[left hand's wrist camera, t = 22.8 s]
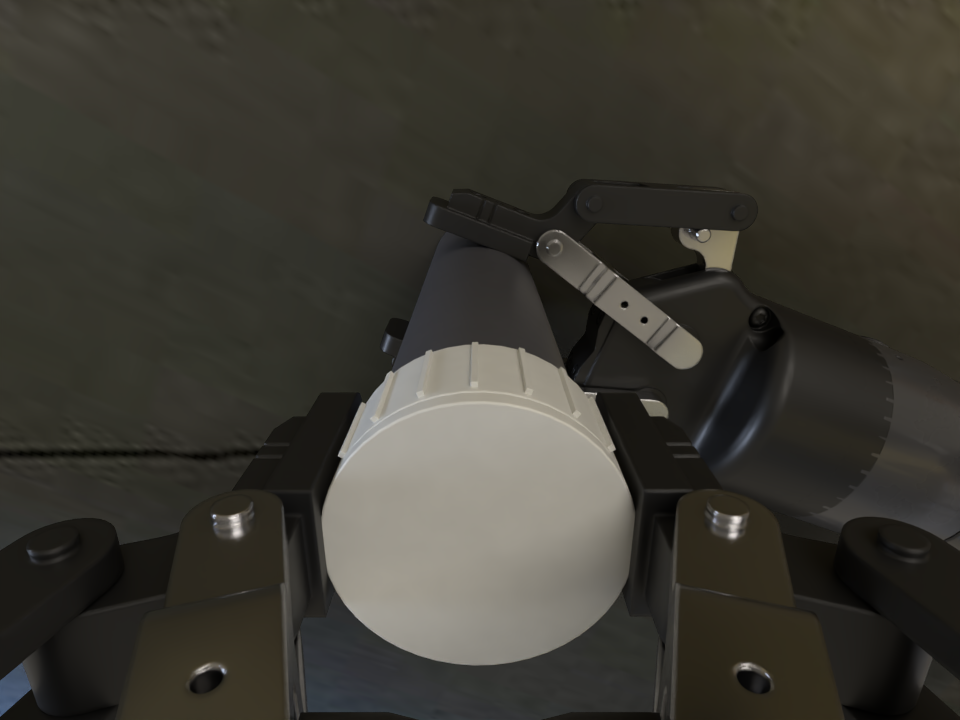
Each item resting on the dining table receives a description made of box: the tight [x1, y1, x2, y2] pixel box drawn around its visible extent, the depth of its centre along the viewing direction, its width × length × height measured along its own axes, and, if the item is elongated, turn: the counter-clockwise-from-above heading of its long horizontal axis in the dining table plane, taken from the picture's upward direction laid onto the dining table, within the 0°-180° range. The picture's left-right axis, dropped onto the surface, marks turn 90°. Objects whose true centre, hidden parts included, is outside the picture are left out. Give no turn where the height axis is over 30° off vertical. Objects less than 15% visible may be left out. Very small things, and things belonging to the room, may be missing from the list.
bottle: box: [392, 232, 568, 376], centre depth 19 cm, size 4×4×20 cm
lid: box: [321, 342, 635, 665], centre depth 10 cm, size 5×5×2 cm
